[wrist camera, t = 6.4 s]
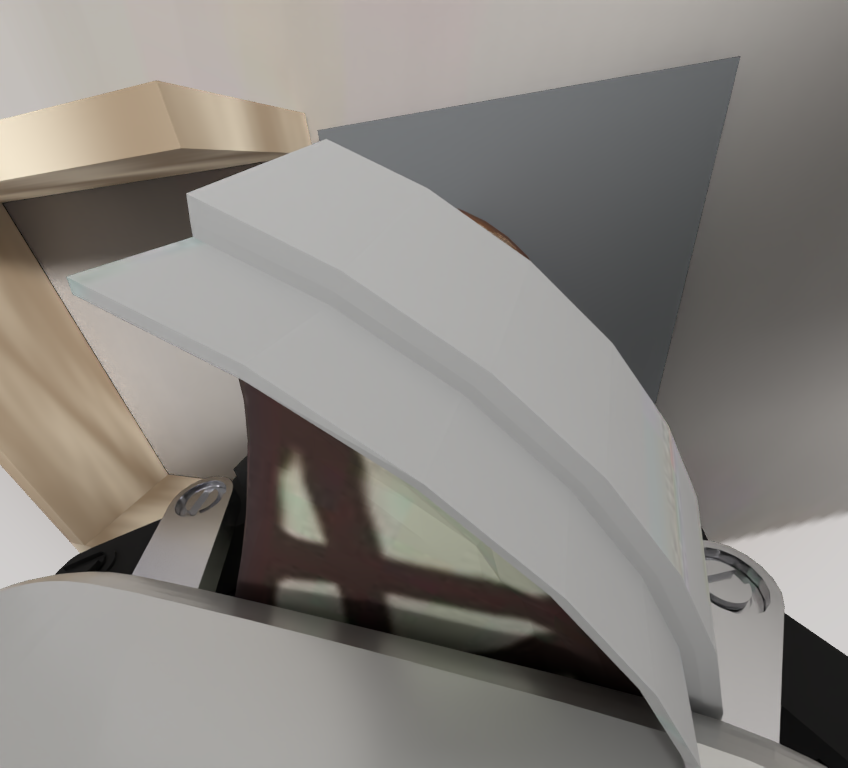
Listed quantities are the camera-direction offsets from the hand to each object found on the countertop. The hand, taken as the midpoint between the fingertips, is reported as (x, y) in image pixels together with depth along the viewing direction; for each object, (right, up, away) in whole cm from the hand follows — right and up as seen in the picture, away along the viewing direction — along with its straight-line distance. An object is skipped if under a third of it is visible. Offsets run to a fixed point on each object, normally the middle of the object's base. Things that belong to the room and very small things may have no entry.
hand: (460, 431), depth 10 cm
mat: (+2, +3, +2) cm, 4 cm away
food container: (+2, +2, +2) cm, 3 cm away
